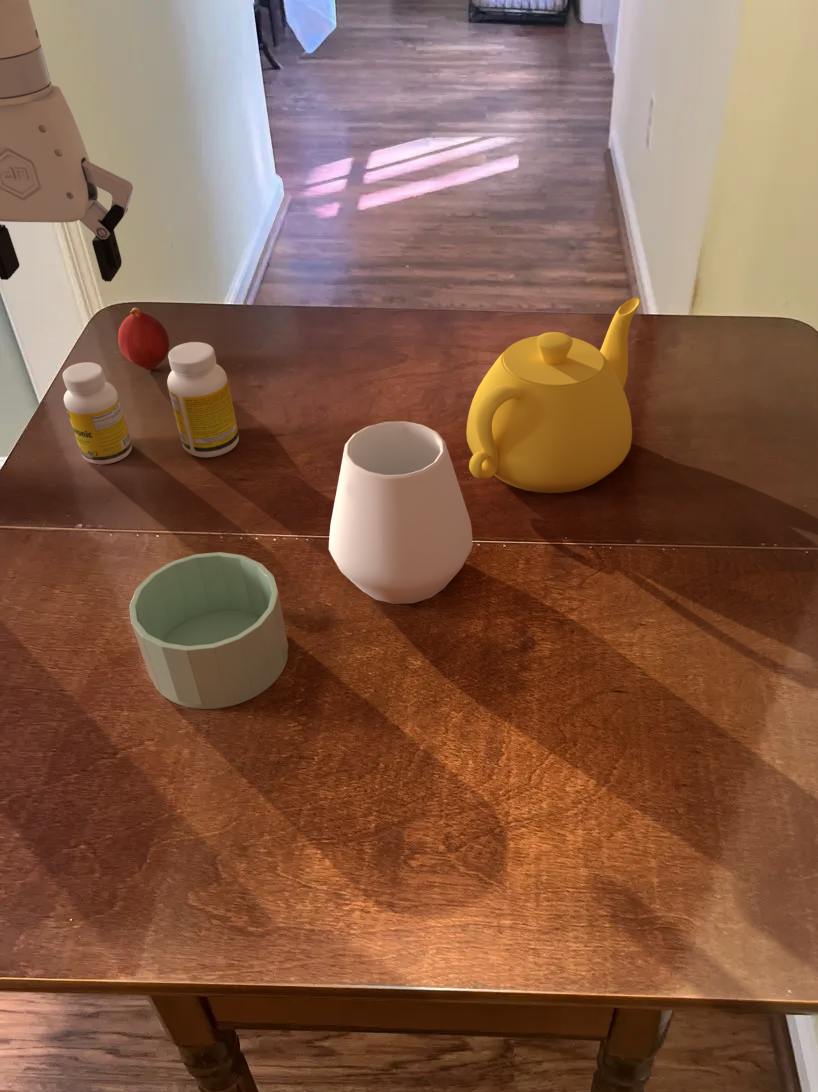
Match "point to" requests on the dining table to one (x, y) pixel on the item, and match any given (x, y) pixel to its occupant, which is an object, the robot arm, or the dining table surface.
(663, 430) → the dining table surface
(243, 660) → the bowl
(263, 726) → the dining table surface
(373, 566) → the cup
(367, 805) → the dining table surface
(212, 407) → the pill bottle
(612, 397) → the teapot
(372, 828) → the dining table surface
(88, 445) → the supplement bottle
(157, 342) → the onion
